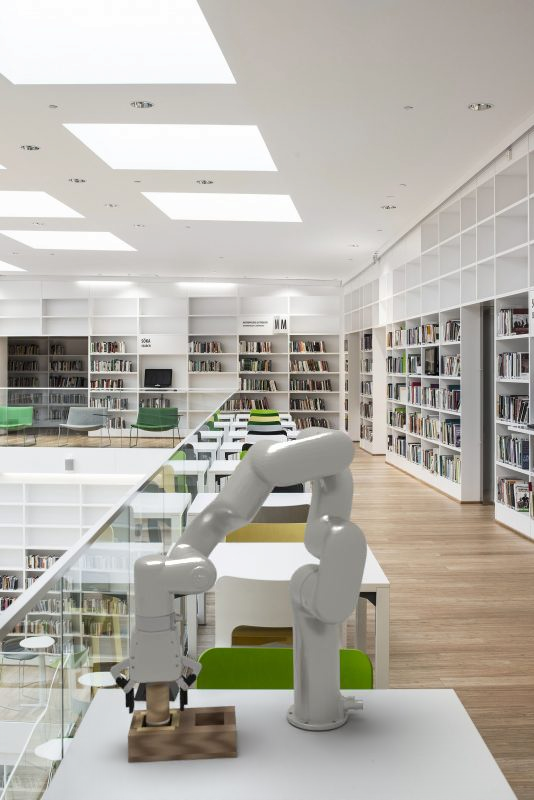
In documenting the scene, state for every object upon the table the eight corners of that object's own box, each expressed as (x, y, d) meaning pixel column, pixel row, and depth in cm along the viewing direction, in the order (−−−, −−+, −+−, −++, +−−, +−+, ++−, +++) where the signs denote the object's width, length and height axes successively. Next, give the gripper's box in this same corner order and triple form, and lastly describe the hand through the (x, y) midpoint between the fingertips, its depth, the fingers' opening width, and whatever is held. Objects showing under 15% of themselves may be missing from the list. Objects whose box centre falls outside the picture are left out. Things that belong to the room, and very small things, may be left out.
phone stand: (179, 690, 178) (178, 637, 177) (174, 701, 172) (173, 647, 171) (140, 689, 178) (139, 637, 178) (134, 700, 172) (132, 646, 172)
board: (235, 730, 157) (234, 704, 157) (236, 757, 146) (236, 729, 146) (134, 735, 156) (134, 709, 156) (128, 762, 145) (127, 734, 145)
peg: (170, 735, 153) (170, 680, 153) (169, 746, 149) (168, 689, 148) (147, 736, 153) (146, 680, 152) (145, 747, 148) (144, 690, 148)
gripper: (200, 613, 154) (202, 699, 155) (111, 616, 153) (114, 703, 154) (200, 625, 147) (202, 716, 147) (106, 629, 146) (108, 720, 146)
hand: (157, 709), depth 150 cm, fingers open, 9 cm apart
